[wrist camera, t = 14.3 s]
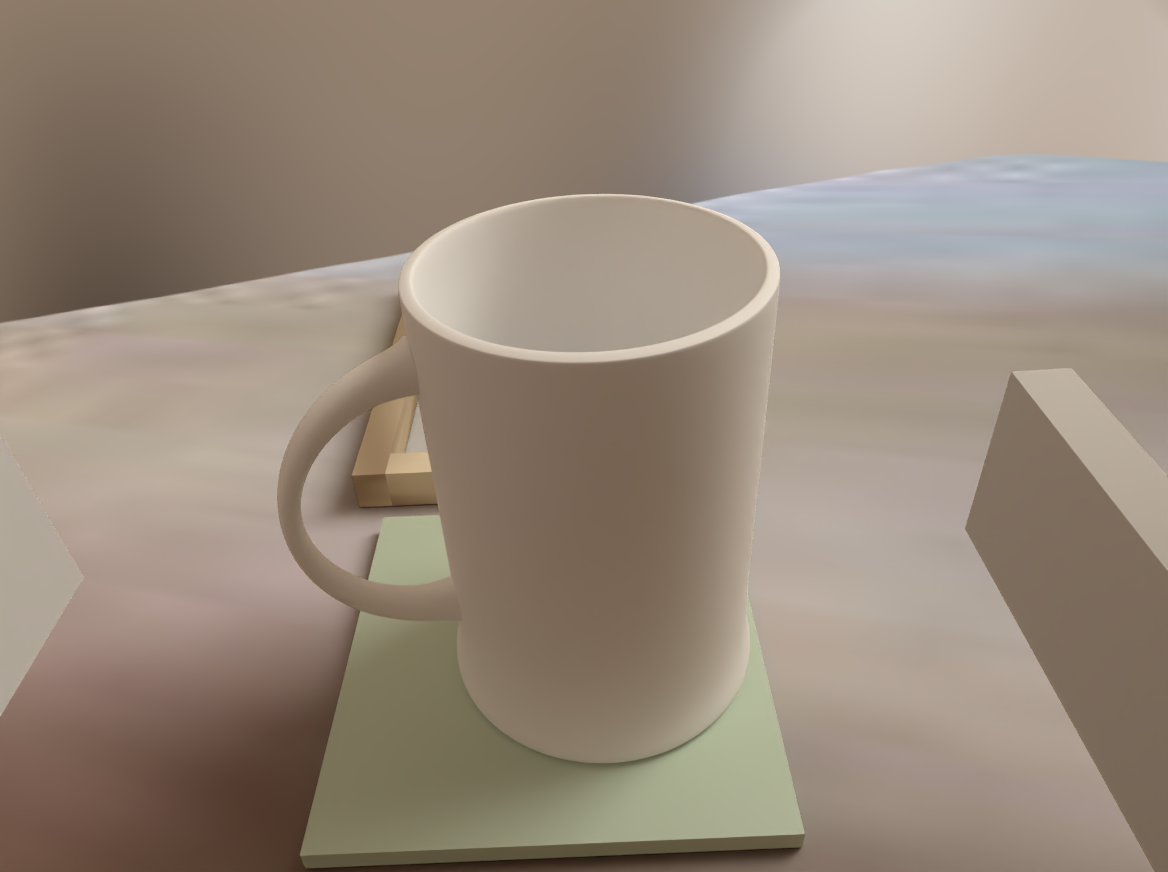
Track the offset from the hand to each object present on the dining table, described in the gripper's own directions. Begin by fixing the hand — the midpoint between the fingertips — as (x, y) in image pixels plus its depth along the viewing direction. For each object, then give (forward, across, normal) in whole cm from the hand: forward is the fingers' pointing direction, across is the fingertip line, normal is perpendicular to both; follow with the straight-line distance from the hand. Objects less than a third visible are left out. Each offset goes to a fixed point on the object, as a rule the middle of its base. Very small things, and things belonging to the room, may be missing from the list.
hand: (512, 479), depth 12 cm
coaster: (+7, 0, -13) cm, 15 cm away
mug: (+7, 0, -13) cm, 15 cm away
